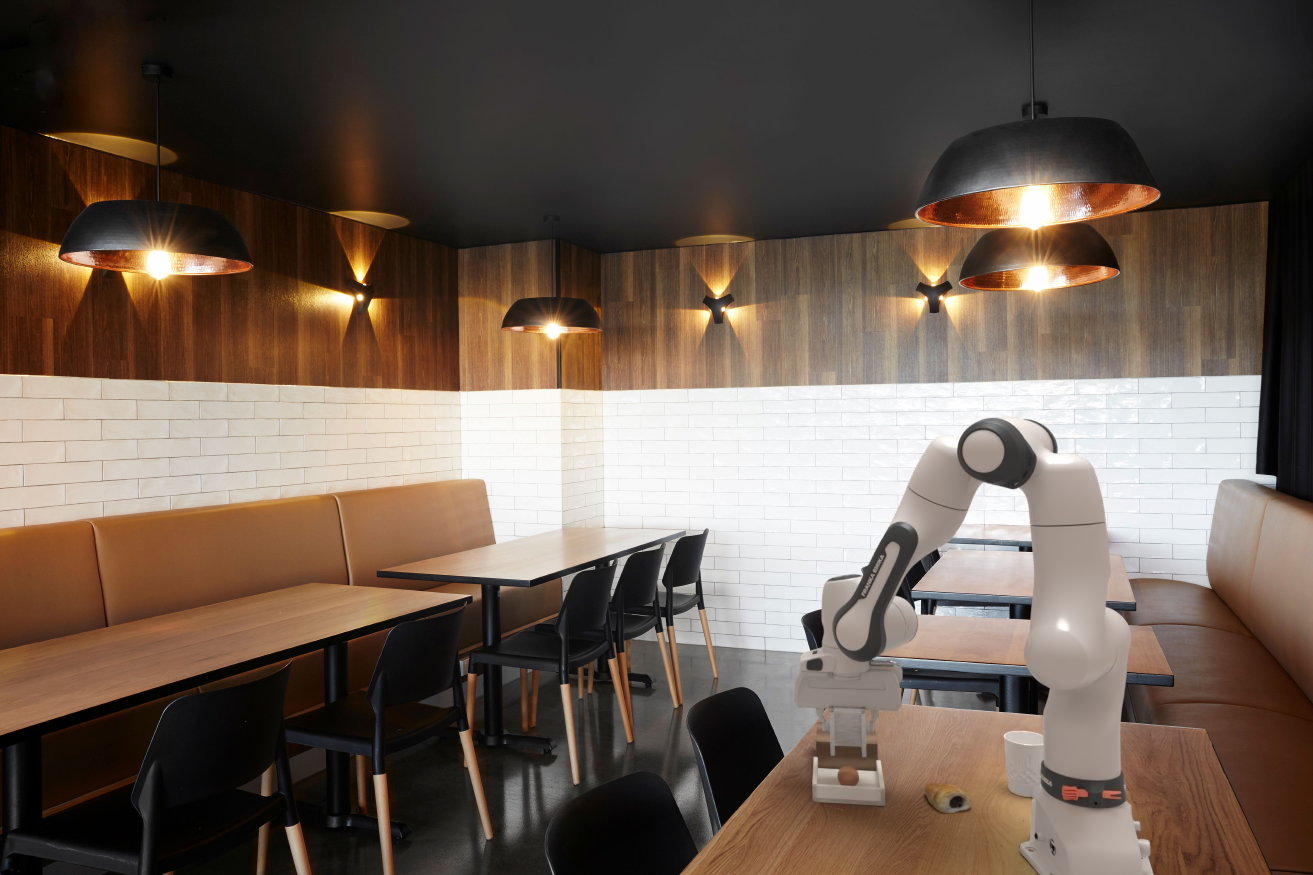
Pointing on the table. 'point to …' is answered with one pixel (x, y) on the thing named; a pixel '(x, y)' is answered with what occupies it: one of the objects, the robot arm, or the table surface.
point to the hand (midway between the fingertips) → (847, 731)
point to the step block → (846, 752)
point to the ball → (848, 776)
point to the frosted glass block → (847, 727)
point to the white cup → (1023, 762)
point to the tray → (848, 787)
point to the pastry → (947, 797)
